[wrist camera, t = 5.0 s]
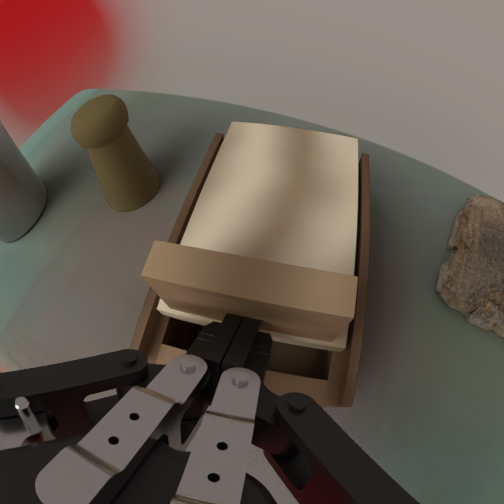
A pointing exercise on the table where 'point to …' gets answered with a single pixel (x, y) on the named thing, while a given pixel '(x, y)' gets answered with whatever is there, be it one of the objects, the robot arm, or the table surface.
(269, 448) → the robot arm
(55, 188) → the table surface
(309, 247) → the cover plate
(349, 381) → the lid box
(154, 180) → the tan pawn
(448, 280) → the clay tablet
